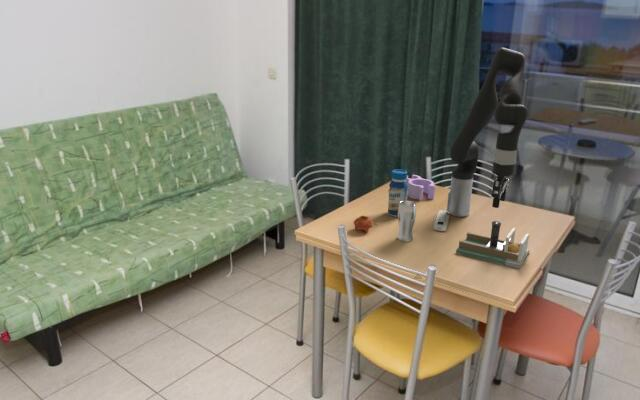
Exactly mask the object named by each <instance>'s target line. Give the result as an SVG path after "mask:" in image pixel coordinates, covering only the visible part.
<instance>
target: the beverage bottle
mask: <svg viewBox="0 0 640 400" xmlns="http://www.w3.org/2000/svg"><path fill="white" fill-rule="evenodd" d="M390 176H391V180H390V182H389V186H388V187H389V189H388V203H387V204H388V205H387V206H388V207H387V214H388V215H389V216H390V217H396V218H398V208H399V202H401V201H408V195H407V194H408V190H407V188H408V184H407V182H406V179H407V176H408V171H407V170H405V169H401V168H400V169H399V168H398V169H397V168H396V169H393V170H391V175H390Z"/></svg>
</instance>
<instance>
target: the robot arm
mask: <svg viewBox="0 0 640 400" xmlns="http://www.w3.org/2000/svg"><path fill="white" fill-rule="evenodd" d="M525 66H526V57H525V54H523V53H522V52H519V51H516V50H514V49H509V48H507V47H500V48H499V49H498V50H497V52H495V54H494V57H493V60H492V61H491V64H490V67H489V70H488V72H487V74H486V76H485V80H484V81H483V84H482V86H481V88H480V90H479V92H478V94H477V96H476V98H475V100H474V102H473V104H472V107H471V109H470V111H469V113H468V116H467V118H466V119H465V121H464V124H463V126H462V127H461V130H460V132H459V133H458V135H457V136H456V139H455V140H454V142H453V143H452V145H451V147H450V149H449V156H450V159H451V161H452V162H453V163H455V164H457V165H456V166H455V167H454V168H453V169H452V170H451V171H452V172H451V177H450V188H449V189H450V191H449V192H448V193H447V202H446V203H447V205H446V212H447V211H448V212H449V213H448V214H449V215H451V216H454V217H457V218H459V217H462V218H464V217H468V216H469V215H470V208H471V201H472V192H473V183H474V182H473V181H474V175H475V173H476V171H477V167H478V161H479V152H480V151H479V147H478V144H477V142H476V141H475V139H476V138H477V136H478V135H480V133H482V131H483V130H484V129H485V128H487V126H488V125H489V124H490V122H491V121H492V119H493V118H494V120H495V122H496V123H497V124H498V125H503V126H505V125H506V126H513V127H512V128H511V129H507V130H502V131H499V132H498V133H497V136H496V145H495V149H494V153H493V154H494V155H493V162H492V170H491V173H492V174H493V175H496V178H495V179H494V181H493V184H492V190H491V198H492V207H493V208H496V209H498V208H499V207H500V202H505V201H506V198H507V191H508V189H509V187H510V178H511V177H512V176H514V175H515V170H516V164H517V153H518V144H519V138H520V135H521V132H522V130H523V128H524V126H525V123H526V120H527V118H528V117H529V116H528V115H529V111H528V108H527V106H525V105H524V104H521V102H522V81H523V77H524V73H525ZM498 74H501V75H505V76H508V77H510V78H508V79H507V80H505V82H503V84H502V85H501V87H500V91H499V99H498V93H497V90H496V89H497V88H496V80H497V76H498ZM498 100H499V101H498Z"/></svg>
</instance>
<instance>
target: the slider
mask: <svg viewBox="0 0 640 400" xmlns="http://www.w3.org/2000/svg"><path fill="white" fill-rule="evenodd" d="M501 226H502V222H500V221H497V220H494V221H492V222H491V231H490V237H491V238H490V242H489V243H488V244H487V246H486V247H491V248H495V249H499V250H504V249H505V242H504V243H499V242H498V239H500V231H501ZM510 242H511V238H510V239H509V245H510ZM509 245H508V246H509Z"/></svg>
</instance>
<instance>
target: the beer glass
mask: <svg viewBox="0 0 640 400" xmlns="http://www.w3.org/2000/svg"><path fill="white" fill-rule="evenodd" d="M416 215H417V203H416V202H415V201H412V200H407V201H401V202H399V208H398V217H397V221H398V235H397V239H398V240H399V241H400V242H404V243H405V242H408V243H409V242H411V241H413V240H414V237H413V230H414V225H415V221H416Z"/></svg>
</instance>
